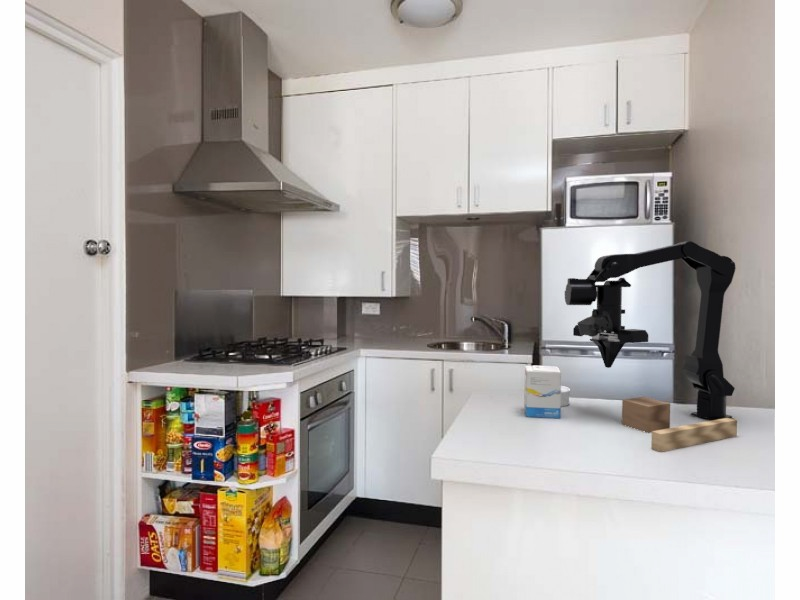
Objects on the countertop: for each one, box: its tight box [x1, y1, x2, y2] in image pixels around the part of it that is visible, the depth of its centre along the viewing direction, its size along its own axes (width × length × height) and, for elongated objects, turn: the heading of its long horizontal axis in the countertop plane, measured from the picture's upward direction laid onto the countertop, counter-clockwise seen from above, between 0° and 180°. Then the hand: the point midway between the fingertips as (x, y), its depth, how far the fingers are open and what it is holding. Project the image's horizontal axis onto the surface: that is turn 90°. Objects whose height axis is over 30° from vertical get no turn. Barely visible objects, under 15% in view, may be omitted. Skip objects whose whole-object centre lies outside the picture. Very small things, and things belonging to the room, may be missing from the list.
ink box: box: [523, 364, 562, 419], centre depth 123 cm, size 9×8×12 cm
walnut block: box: [621, 396, 671, 434], centre depth 112 cm, size 7×7×6 cm
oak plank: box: [650, 418, 738, 453], centre depth 101 cm, size 24×2×4 cm, turn 114°
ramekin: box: [561, 385, 571, 407], centre depth 134 cm, size 9×9×4 cm
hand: (608, 367), depth 121 cm, fingers closed
